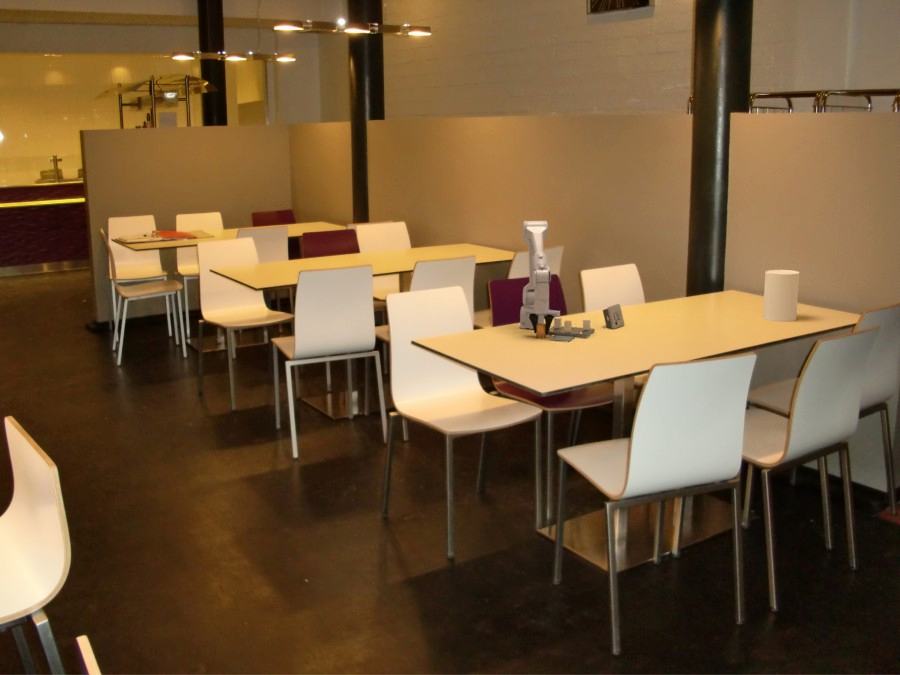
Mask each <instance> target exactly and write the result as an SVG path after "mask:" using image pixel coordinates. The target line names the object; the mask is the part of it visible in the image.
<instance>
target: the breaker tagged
mask: <svg viewBox="0 0 900 675" xmlns="http://www.w3.org/2000/svg"><path fill="white" fill-rule="evenodd" d="M572 323H573V322H572V320H569V319H568V320H564V322H563V327H564V332H565V331H567V332H571V331H572V327H573V326H572Z"/></svg>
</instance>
